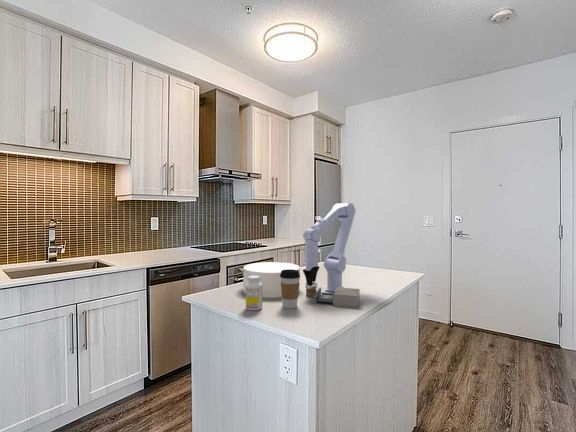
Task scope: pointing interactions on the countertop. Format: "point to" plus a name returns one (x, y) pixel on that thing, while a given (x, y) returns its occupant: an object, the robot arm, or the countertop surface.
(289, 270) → the coffee cup
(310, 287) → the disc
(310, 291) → the brown cube
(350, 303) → the block
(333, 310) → the countertop surface
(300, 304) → the countertop surface
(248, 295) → the supplement bottle
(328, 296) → the tray
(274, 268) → the plate stack
